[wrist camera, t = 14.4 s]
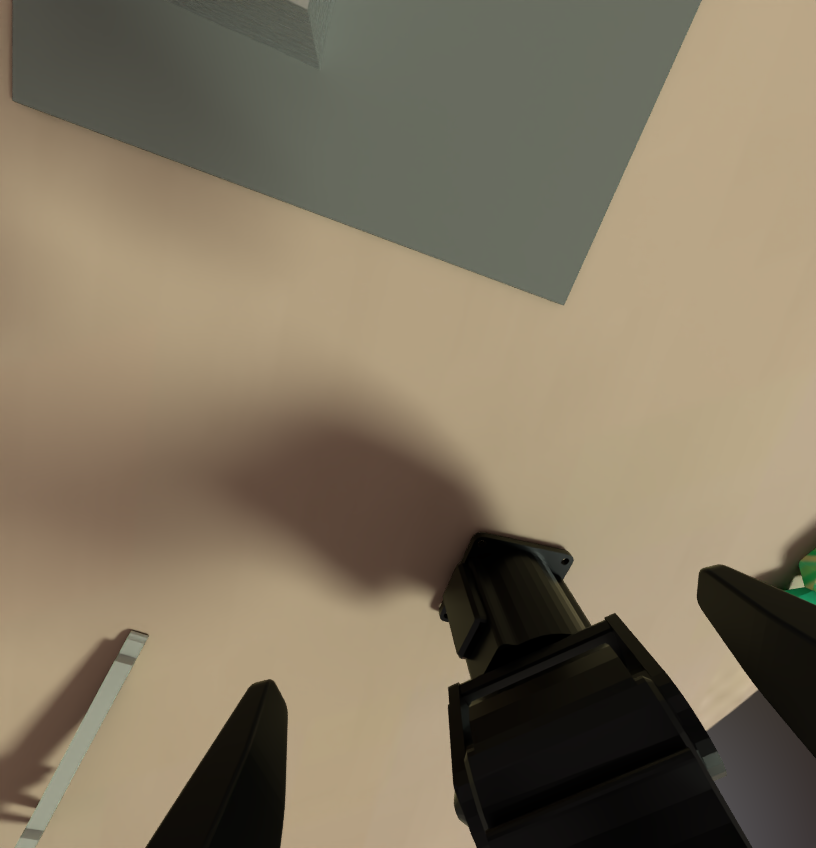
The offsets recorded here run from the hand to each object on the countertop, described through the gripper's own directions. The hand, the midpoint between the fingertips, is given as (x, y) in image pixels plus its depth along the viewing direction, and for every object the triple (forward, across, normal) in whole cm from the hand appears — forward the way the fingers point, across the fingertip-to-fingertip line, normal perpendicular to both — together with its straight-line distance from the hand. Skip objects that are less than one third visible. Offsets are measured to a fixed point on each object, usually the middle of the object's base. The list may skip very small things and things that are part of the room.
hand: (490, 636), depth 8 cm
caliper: (+13, +25, +17) cm, 33 cm away
